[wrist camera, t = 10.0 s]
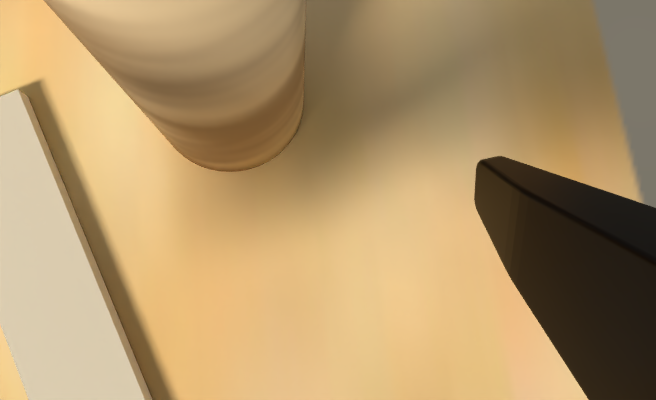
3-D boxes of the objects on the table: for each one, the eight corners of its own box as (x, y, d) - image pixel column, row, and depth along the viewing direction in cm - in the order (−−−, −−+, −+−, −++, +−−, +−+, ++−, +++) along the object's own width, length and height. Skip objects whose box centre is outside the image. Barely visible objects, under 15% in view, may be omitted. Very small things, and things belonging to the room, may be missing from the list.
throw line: (220, 564, 15) (216, 575, 14) (123, 617, 14) (115, 631, 14) (27, 96, 17) (17, 89, 16) (-62, 131, 17) (-75, 126, 16)
